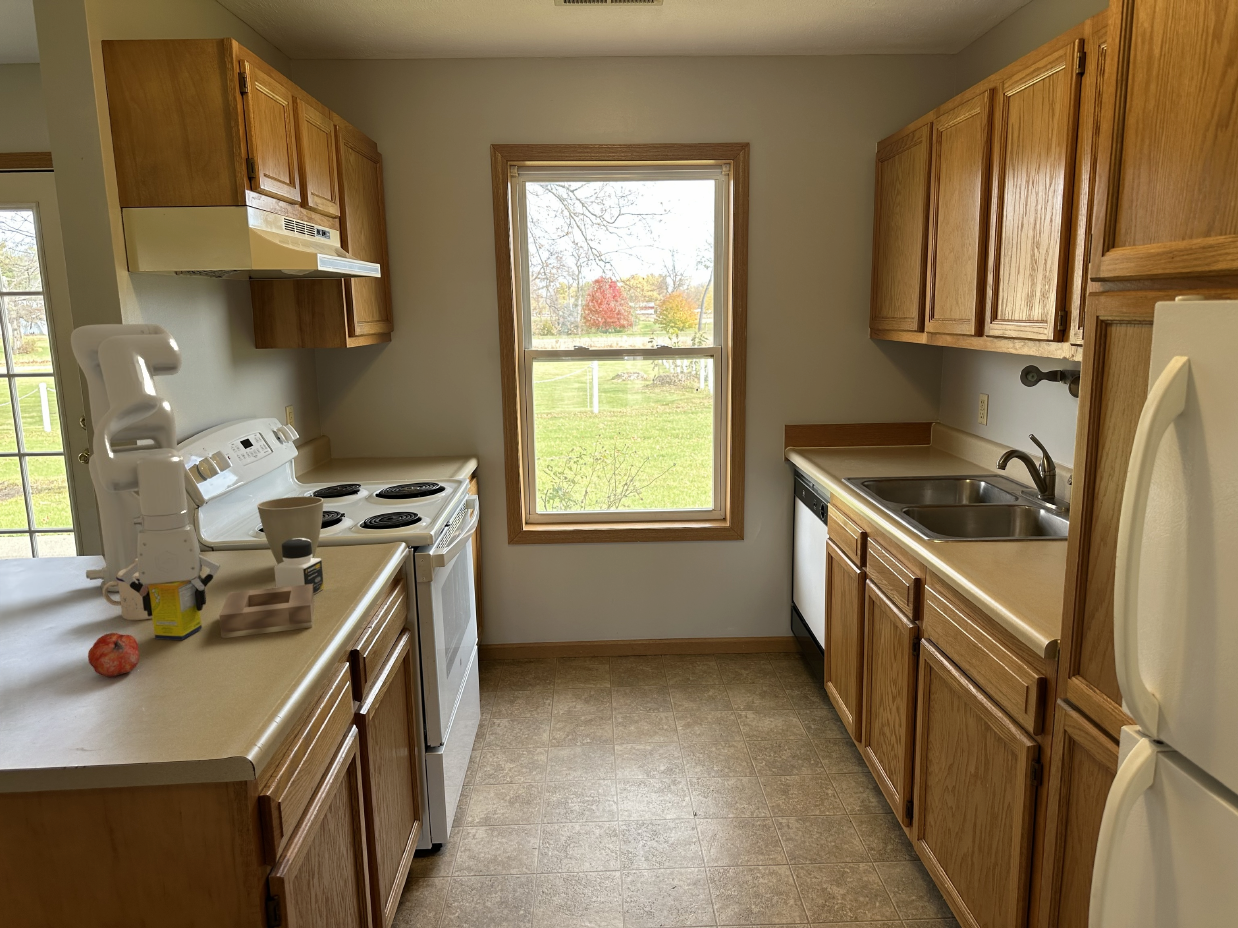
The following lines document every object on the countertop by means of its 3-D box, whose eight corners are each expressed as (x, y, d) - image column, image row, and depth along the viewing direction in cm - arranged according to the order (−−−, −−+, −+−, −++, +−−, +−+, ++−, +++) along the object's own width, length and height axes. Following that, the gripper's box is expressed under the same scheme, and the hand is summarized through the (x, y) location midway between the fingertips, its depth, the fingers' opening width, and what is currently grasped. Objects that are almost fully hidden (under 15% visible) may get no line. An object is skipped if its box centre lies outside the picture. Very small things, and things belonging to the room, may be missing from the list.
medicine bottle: (306, 599, 178) (301, 545, 176) (276, 597, 179) (271, 543, 177) (324, 589, 185) (320, 536, 183) (295, 587, 186) (290, 535, 184)
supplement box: (174, 627, 162) (168, 573, 160) (202, 628, 161) (197, 574, 159) (153, 639, 156) (146, 583, 154) (182, 640, 156) (176, 584, 154)
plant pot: (336, 567, 201) (330, 503, 198) (270, 579, 193) (264, 511, 190) (319, 554, 213) (314, 493, 210) (257, 564, 205) (251, 501, 202)
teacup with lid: (176, 604, 176) (170, 550, 174) (165, 618, 168) (158, 562, 166) (113, 610, 173) (106, 556, 171) (98, 625, 165) (91, 568, 163)
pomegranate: (87, 688, 141) (87, 669, 134) (88, 646, 144) (87, 626, 137) (138, 682, 145) (140, 663, 138) (137, 641, 148) (139, 621, 141)
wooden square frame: (221, 638, 156) (219, 615, 156) (230, 614, 170) (228, 592, 169) (312, 627, 161) (310, 604, 161) (314, 604, 174) (312, 583, 174)
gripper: (107, 530, 149) (119, 623, 152) (214, 521, 154) (223, 612, 157) (117, 520, 156) (128, 610, 159) (220, 512, 161) (228, 599, 164)
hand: (176, 610), depth 158 cm, fingers closed on supplement box, 7 cm apart
